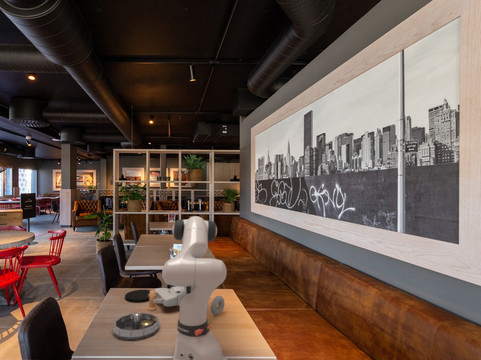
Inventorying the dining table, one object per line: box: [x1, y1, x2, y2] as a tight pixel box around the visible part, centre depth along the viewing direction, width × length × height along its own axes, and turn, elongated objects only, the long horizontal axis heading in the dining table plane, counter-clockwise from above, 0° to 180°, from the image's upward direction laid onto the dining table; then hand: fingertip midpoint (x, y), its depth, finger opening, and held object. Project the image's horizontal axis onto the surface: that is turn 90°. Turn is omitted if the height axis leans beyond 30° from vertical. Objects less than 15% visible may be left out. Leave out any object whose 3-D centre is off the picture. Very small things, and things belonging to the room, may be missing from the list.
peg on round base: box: [147, 289, 158, 312], centre depth 172 cm, size 5×5×10 cm
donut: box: [210, 295, 225, 316], centre depth 168 cm, size 10×4×10 cm, turn 147°
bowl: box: [112, 311, 160, 342], centre depth 147 cm, size 20×20×8 cm
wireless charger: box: [124, 289, 157, 304], centre depth 189 cm, size 18×18×2 cm
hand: (150, 298), depth 171 cm, fingers open, 8 cm apart
